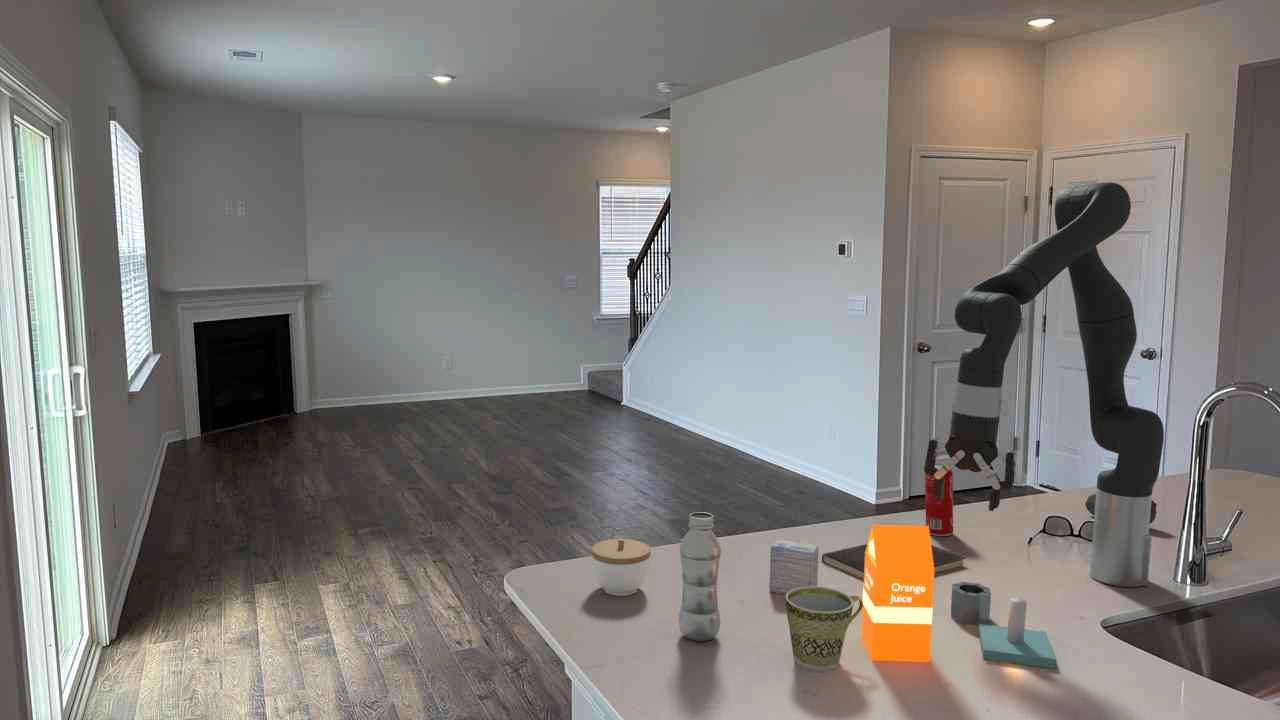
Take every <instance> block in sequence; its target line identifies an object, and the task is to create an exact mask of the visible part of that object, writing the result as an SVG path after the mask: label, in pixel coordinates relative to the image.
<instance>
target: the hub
mask: <svg viewBox="0 0 1280 720" xmlns="http://www.w3.org/2000/svg"><path fill="white" fill-rule="evenodd" d="M991 598H992V592H991V588H990V587H987V586H985V585H983V584H980V583H978V582H967V581H961V582H956V583H952V584H951V598H950V599H951V602H950V617H951V619H953V620H955V621H957V622H959V623H961V624H967V625H973V626H975V625H976V626H979V624H989V623H990V617H991V615H990V614H991V613H990V612H991V601H992V600H991Z"/></svg>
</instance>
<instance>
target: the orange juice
mask: <svg viewBox="0 0 1280 720" xmlns="http://www.w3.org/2000/svg"><path fill="white" fill-rule="evenodd" d="M871 525H872V526H871V529H870V530H871V531H870V533H869V537H868V541H867V543H866V544H867V548H866V551H865V566H864V579H863V587H862V601H863V608H862V610H861V612H862V613H861V616H862V617H861V633H860V635H861V636H860V639H862V640H861V641H862V643H863V645H864V648H865V650H866V652H867V654H868V656H869V659H871V661H882V662H883V661H887V662H890V661H891V662H924V663H925V662H927V663H928V662H930V660H931V659H930V656H931V654H930V653H931V638H932V637H931V636H932V624H933V608H934V607H933V605H934V602H933V601H934V589H935V588H934V586H935V585H934V584H935V580H934V579H935V573H934V570H935V569H934V564H933V556H932V548H931V545H932V543H931V542H932V541H931V535H930V532H929V526H926V525H895V524H893V525H891V524H888V525H887V524H871Z"/></svg>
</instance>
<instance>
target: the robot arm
mask: <svg viewBox="0 0 1280 720" xmlns="http://www.w3.org/2000/svg"><path fill="white" fill-rule="evenodd" d="M1131 202H1132V201H1131V198H1130V195H1129V193H1128V190H1127V189H1126V188H1125V187H1124V186H1123V185H1121V184H1119V183H1116V182H1112V181H1111V182H1110V181H1109V182H1107V181H1106V182H1097V183H1089V184H1081V185H1074V186H1069V187H1068V186H1067V187H1066V188H1063V189H1062V190H1061V191H1060V192H1059V193H1058V195H1057V196H1056V199H1055V202H1054V212H1053V213H1054V222H1055V225H1056V229H1057V231H1055V232H1053V233H1052V234H1049V235H1047V236H1046V237H1044V238H1041V239H1040V240H1038V241H1037V242H1035V243H1032V244H1031V245H1029V246H1028V247H1026V248H1025V249H1024V250H1022V251H1021V252H1019V253H1018V254H1017V255H1016V256H1015V257H1014V258H1013V259H1012V260H1011V261H1010V262H1009V263H1008V264H1006V266H1005V267H1004V268H1002V270H1001V271H999V272H998V273H996V274H994V275H992V276H990V277H988V278H986V279H984V280H983V281H981V282H978V284H977V283H976V284H975V285H974V286H973V287H971V288H969V289H968V290H967V291H965V293H964V294H963V295H962V296H961V297H960V298H959V300H958V302H957V304H956V306H955V309H954V320H955V322H956V325H957V326H958V327H959V328H960V330H963V331H964V332H968V333H972V334H976V335H977V334H979V335H985V336H984V339H983V341H982V342H981V344H980V345H979V347H970V348H967V349H964V350H963V351H962V353H961V354H960V358H959V367H958V373H957V383H956V387H955V391H954V397H953V401H952V404H951V405H952V406H951V408H952V412H951V419H950V420H951V421H950V428H949V429H950V430H949V436H948V437H949V438H948V440H947V441H946V440H945V441H944V440H939V438H936V437H933V438H931V439H930V440H929V441H928V446H927V451H926V457H925V462H924V468H923V469H924V470H923V471H924V474H925V473H927V474H930V475H932V476H933V477H934V479H935V481H934V490H933V495H934V497H936V500H937V501H941V500H942V499H943V493H944V484H945V478H944V475H945V474H946V473H947V472H948V471H949V470H950V469H951V470H952V468H953V467H956V468H958V470H962V471H965V470H967V471H968V470H969V471H970V472H974V473H979V472H982V473H983V475H984V476H985V478H986V479H987V480H988V481H989V483H990V485H991V486H992V488H991V489H990V494H989V504H988V511H989V512H994V511H995V509H997V508H999V505H1000V504H1001V495H1002V490H1003V489H1010V488H1012V487H1013V486H1014V484H1015V476H1016V461H1017V459H1016V456H1017V452H1016V450H1013V449H1011V450H1009V451H1007V450H999V449H998V447H997V443H998V434H999V433H998V432H999V427H1000V426H999V425H1000V419H1001V417H1000V416H1001V410H1002V403H1003V402H1002V399H1003V398H1002V397H1003V396H1002V395H1003V394H1002V389H1003V388H1002V387H1003V380H1004V372H1005V363H1006V362H1007V359H1008V356H1009V353H1010V351H1011V350H1012V346H1013V343H1014V342H1015V340H1016V337H1017V335H1018V332H1019V330H1020V328H1021V323H1022V319H1023V317H1022V316H1023V312H1022V307H1021V306H1024V305H1027V304H1029V303H1030V302H1032V300H1035V298H1036V297H1037V296H1038V295H1039V294H1040V293H1041V292H1042V291H1043V290H1044V289H1045V288H1046V287H1047V286H1048V285H1049V284H1050V283H1051V282H1053V280H1054V279H1055V278H1056V277H1057V276H1058V275H1060V273H1062V272H1063V271H1064V270H1065V269H1068V274H1069V278H1070V283H1071V287H1072V288H1071V289H1072V292H1073V299H1074V303H1075V310H1076V319H1077V324H1078V329H1079V330H1078V332H1079V337H1080V341H1081V344H1082V349H1083V357H1084V364H1085V371H1086V377H1087V383H1088V397H1089V398H1088V400H1089V401H1088V402H1089V404H1088V405H1089V418H1090V429H1091V433H1092V437H1093V439H1094V441H1095V443H1096V444H1097V445H1098V446H1099V447H1100V448H1102V449H1104V450H1105V451H1108V452H1111V453H1115V454H1118V456H1117V460H1116V466H1115V468H1113V469H1107V470H1103V471H1101V472H1100V473H1098V475H1097V477H1096V492H1095V494H1096V502H1095V515H1093V516H1094V518H1093V528H1092V529H1093V530H1092V540H1091V541H1092V542H1091V553H1090V563H1089V567H1090V568H1089V569H1090V570H1089V575H1090V576H1091V578H1092V579H1094V580H1096V581H1099V582H1101V583H1105V584H1107V585H1112V586H1117V587H1125V588H1135V587H1148V582H1149V572H1150V560H1151V550H1152V536H1151V535H1150V534H1149V533H1150V524H1149V522H1150V511H1151V500H1153V498H1152V496H1153V489H1154V486H1155V484H1156V482H1157V479H1158V477H1159V473H1160V467H1161V459H1162V453H1163V449H1164V448H1163V447H1164V439H1165V437H1164V436H1165V431H1164V424H1163V422H1162V419H1161V418H1160V415H1158V414H1157V413H1155V412H1154V411H1152V410H1149V409H1145V408H1140V407H1136V406H1132V405H1129V403H1128V399H1127V395H1126V390H1125V384H1124V383H1125V382H1124V380H1125V371H1126V368H1127V366H1128V363H1129V361H1130V360H1131V356H1132V355H1133V352H1134V350H1135V347H1136V343H1137V340H1138V339H1137V338H1138V337H1137V336H1138V331H1137V325H1136V319H1135V312H1134V306H1133V303H1132V300H1131V298H1130V296H1129V295H1128V293H1127V292H1126V290H1125V288H1123V286H1122V285H1121V283H1120V282H1119V281H1118V280H1117V279H1116V278H1115V276H1114V275H1112V273H1111V272H1110V271H1109V269H1108V268H1107V266H1106V265H1105V264H1104V262H1103V261H1102V259H1101V257H1100V253H1099V251H1098V249H1097V247H1098V246H1099V244H1101V243H1102V242H1104V241H1105V240H1107V239H1109V238H1110V237H1112V236H1113V235H1115V234H1117V232H1119V231H1120V230H1121V229H1122V228H1123V227H1124V226H1125V225H1126V223H1127V221H1128V220H1129V217H1130V215H1131V209H1132V204H1131ZM943 449H945V450H946V451H945V452H947V454H948V456H949V459H948V460H947V461H946V462H945V463H944V464H942V465H943V466H942V467H941V468H940V469H937V468H936V467H935V464H936V461H937V455H938V453H940V452H942V450H943ZM997 458H1000V460H1001V461H1000V462H1001V463H1002V464H1003V465H1005V472H1004V479H1001V478H1000V477H999V476H1000V475H998V474H997V471H996V468H995V467H994V466H993V464H992V463H993V462H994V461H995V460H996V459H997Z"/></svg>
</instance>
